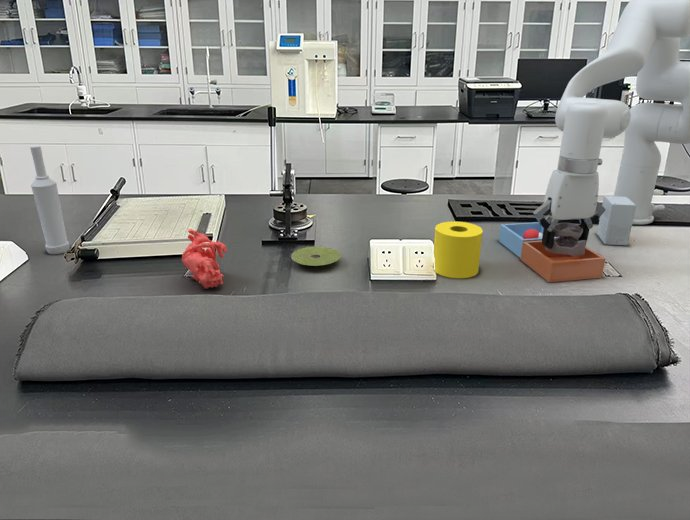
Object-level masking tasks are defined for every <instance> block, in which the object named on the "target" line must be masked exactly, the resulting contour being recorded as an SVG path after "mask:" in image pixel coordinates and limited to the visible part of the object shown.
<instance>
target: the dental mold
mask: <svg viewBox="0 0 690 520" xmlns="http://www.w3.org/2000/svg"><path fill="white" fill-rule="evenodd" d="M578 225H579V224H578ZM578 225H577V224H575V223H571V222H558V223H557V224H556V226H555V227H554V229H553V231H554V232H555V237H557V238H554V242H553V248H552V249H548V248H547V247H545V250H547V251H549V252H552V253H557V254H566V255H572V256H577V255H584V253H585V247H587V242H586V241H585V240H582V241H578V240H579V237H581V234H582V233H583V228H581V227H580V226H578Z"/></svg>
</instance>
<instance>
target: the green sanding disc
mask: <svg viewBox="0 0 690 520" xmlns="http://www.w3.org/2000/svg"><path fill="white" fill-rule="evenodd" d="M290 258H291V260H292V261H293V262H295V263H297V264H300V265H303V266H311V267H312V266H315V267H317V266H325V265H331V264H332V263H336V262H337V261H339V260H340V259H341V253H340V252H339V251H338V250H336V249H334V248H331V247H325V246H307V247H302V248H299V249H297V250H294V251H293V252H292V253H291V255H290Z"/></svg>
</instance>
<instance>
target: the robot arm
mask: <svg viewBox="0 0 690 520" xmlns="http://www.w3.org/2000/svg"><path fill="white" fill-rule="evenodd" d="M689 37H690V0H629V1H628V3H627V4H626V6H625V7H624V9H623V10H622V13H621V15H620V17H619V19H618V22H617V24H616V26H615V29H614V31H613V33H612V35H611V38H610V40H609V42H608V44H607V46H606V49H605V51H604V53H603V54H602V55H600V56H598V57H597V58H595V59H593V60H591V62H589V63H588V64H586V65H585V66H584V67H582V68H581V69H580V70H579V71H578V72H577V73H575V75H573V77H571V79H570V80H569V81H568V83H567V85H566V88H564V89H565V90H564V92H563V93H562V96H561V98H560V100H559V102H558V105H557V108H556V111H555V117H554V122H555V125H556V127H557V129H558V130H560V131H561V132H562V137H561V143H560V149H559V154H558V155H559V156H558V162H557V168H556V169H554V170H552V173H551V175H550V178H549V180H548V183H547V187H546V190H545V194H544V198H543V203H542V204H541V205H540V206H539V207H537V208H536V209H535V210H533V212H532V214H533V216H534V218H535V219H536V222H539V223H540V225H541V226H542V227H543V228H544V229H543V236H542V244H543V245H544V246H545V247H547V248H548V249H552V248H553V242H554V236H555V232H554V231H553V229H554V227H555V226H556V225H557V224H559V223H560V221H565V220H566V221H568V220H569V221H570V220H578V221H579V224H578V226H580V227H581V228H583V233H582V234H581V237H579V240H578V241H582V240H585V241H586V243H587V241H588V239H589V234H590V230H591V229H593V227H594V224H596V222H598V220H600V216H601V215H602V214H603V213H604V212H605V208H604V207H603V206H602V204H601V203H600V202H599V201H598V199H599V191H600V189H599V186H600V177H599V172H598V167H599V166H601V165H603V159H602V158H600V154H601V150H602V144H603V140H604V139H603V138H610V139H611V138H615V137H618V136H619V135H622V134H623V133H624V140H623V141H624V143H623V149H622V155H621V160H620V164H619V169H618V174H617V179H616V184H615V189H614V194H613V196H620V197H627V198H629V199H630V200H631V201H632V202H633V203H634V204H635V205H636V209H635V214H634V219H633V223H632V225H640V226H641V225H649V224H652V223H653V222H654V219H655V216H654V215H653V214H654V213H655V212H663V211H665V209H666V207H665V204H654V203H653V202H652V201H653V196H654V193H655V188H656V183H657V179H658V176H659V171H660V167H661V163H662V154H661V151H660V150H659V147H658V146H657V144H656V143H657V142H661V143H669V144H677V145H678V144H679V145H688V144H689V145H690V61H684V60H683V61H682V60H680V59H679V58H680V57H679V56H680V50H681V49H680V48H681V42H682V40H681V38H689ZM635 74H637V75H636V82H635V83H636V84H635V89H636V90H635V91H636V94H637V97H639V98H640V99H643V100H649V101H657V102H640V103H637V104H635V105H633V106H631V107H629V106H628V104H626V103H625V102H624V101H621V100H617V99H608V98H607V99H605V98H596V97H585V96H586V95H587V94H588V93H590V92H591V91H593V90H594V89H596V88H598V87H599V88H600V87H601V86H604V85H607V84H610V83H613V82H616V81H617V82H618V81H620V80H623V79H626V78H629V77H631V76H634V75H635ZM658 101H659V103H658ZM660 102H671V104H670V103H660ZM672 102H673V103H680V104H672ZM544 215H546V216H545V217H544Z"/></svg>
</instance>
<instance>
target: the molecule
mask: <svg viewBox="0 0 690 520" xmlns="http://www.w3.org/2000/svg"><path fill="white" fill-rule="evenodd" d="M542 236H543V234H542V233H540V232H538V231H537V230H535V229H529V230H527V231H526V232H525V233H524V235H523V239H533V238H542Z"/></svg>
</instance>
